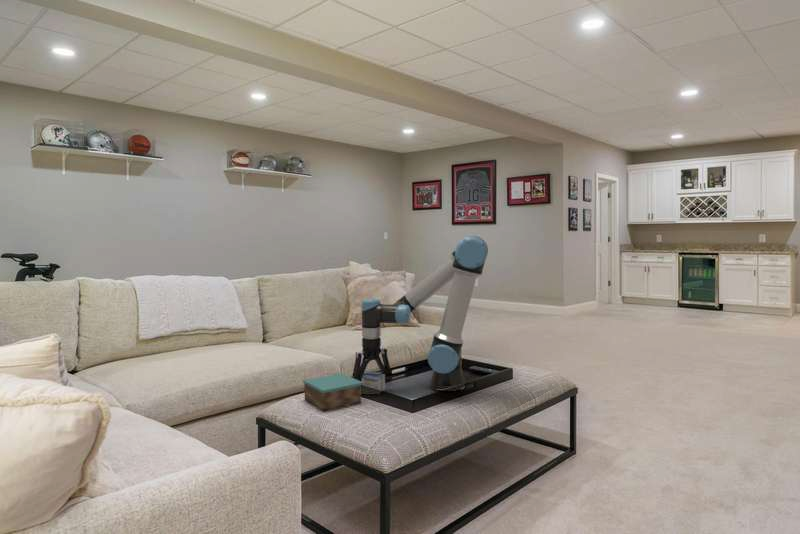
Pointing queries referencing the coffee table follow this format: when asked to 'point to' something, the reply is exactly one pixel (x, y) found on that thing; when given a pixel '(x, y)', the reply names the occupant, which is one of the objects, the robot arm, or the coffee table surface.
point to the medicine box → (373, 379)
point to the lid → (332, 383)
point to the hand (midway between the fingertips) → (372, 391)
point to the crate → (332, 397)
